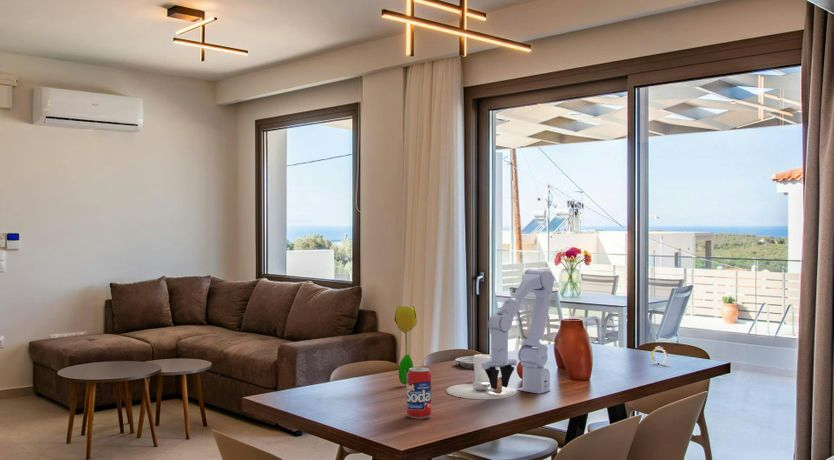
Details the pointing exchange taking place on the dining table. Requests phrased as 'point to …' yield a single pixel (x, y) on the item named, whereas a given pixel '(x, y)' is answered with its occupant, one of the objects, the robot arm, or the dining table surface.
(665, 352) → the ring
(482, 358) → the white cup
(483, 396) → the white plate
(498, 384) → the white and tan pieces
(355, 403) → the dining table surface
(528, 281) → the robot arm
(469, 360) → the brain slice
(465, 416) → the dining table surface
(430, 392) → the soda can
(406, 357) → the flower
